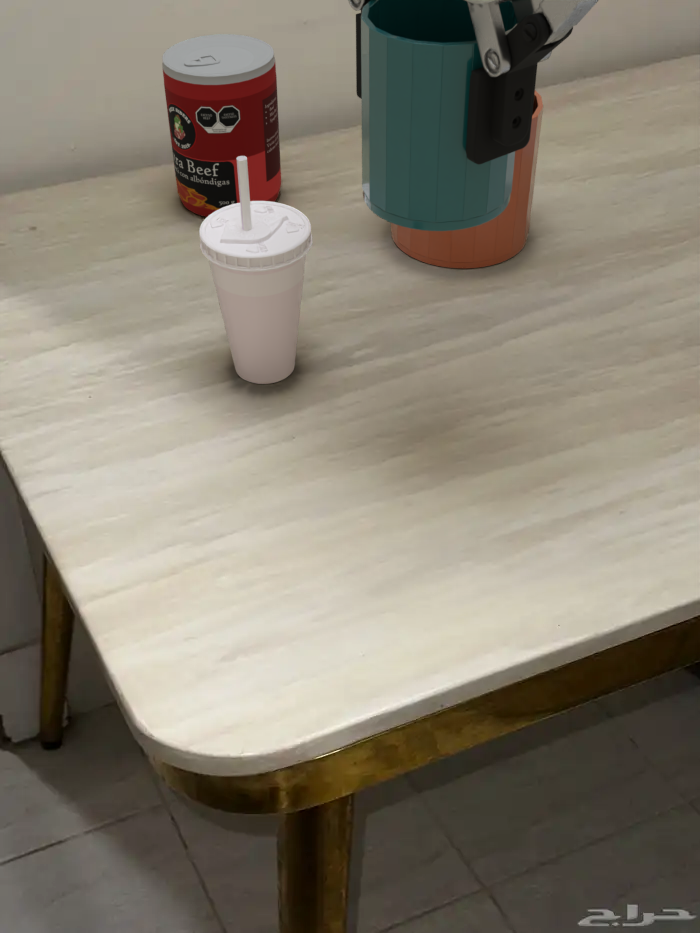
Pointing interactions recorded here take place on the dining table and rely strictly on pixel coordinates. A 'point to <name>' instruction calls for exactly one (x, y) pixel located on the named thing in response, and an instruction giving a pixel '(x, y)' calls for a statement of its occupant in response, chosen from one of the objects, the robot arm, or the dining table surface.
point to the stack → (491, 237)
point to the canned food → (222, 119)
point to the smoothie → (258, 279)
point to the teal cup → (425, 117)
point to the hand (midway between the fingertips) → (439, 119)
